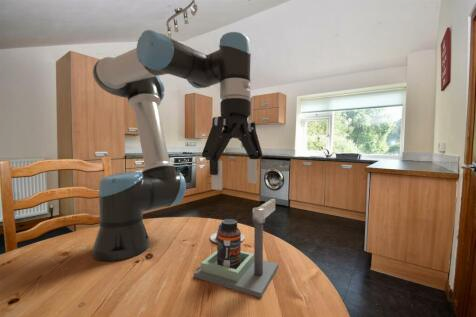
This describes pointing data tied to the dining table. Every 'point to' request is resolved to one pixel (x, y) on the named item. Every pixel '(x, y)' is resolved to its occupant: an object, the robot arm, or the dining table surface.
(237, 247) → the supplement bottle
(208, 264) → the socket base
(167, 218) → the dining table surface
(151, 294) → the dining table surface
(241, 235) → the pudding
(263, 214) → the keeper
